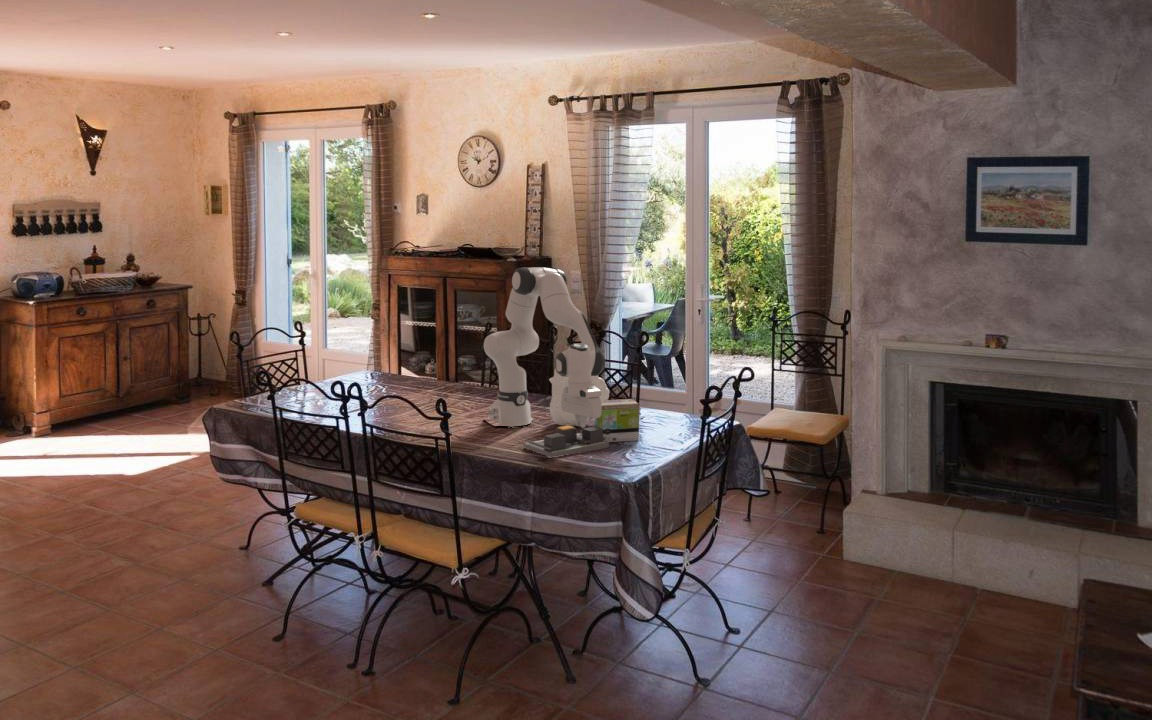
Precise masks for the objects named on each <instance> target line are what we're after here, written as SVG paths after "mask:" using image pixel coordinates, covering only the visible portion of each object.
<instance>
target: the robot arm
mask: <svg viewBox="0 0 1152 720" xmlns="http://www.w3.org/2000/svg"><path fill="white" fill-rule="evenodd" d="M514 270H515V271H514V272H513V274H512V276H511V286H512V288H511V291H510V294H509V299H508V301H507V306H506V309H505V317H506V319H507V321H508V322H509V323H511V327H510V329H509V330H508V329H507V330H502V331H501V330H500V331H496V332H493V333H491V334H488V335H487V336H486V337H485V338H484V342H483V350H484V352H485V354H486V356H488V358H490V359H491V360H492V361H493V363H494V364H495V366H496V367H495V368H496V369H497V373H498V389H499V390H497V391H496V394H497V396H496V397H497V398H496V400H495V401H494V402H493V403H492V404H491V405H489V407H488V410H487V411H488V412H487V413H488V417H489V418H490V419H492V420H493V421H495V422H497V423H499V425H510V426H511V425H512V426H521V425H527V424H530V423H531V424H532V422H531V421H532V420H534V418H533V417H532V409H531V404H530V401H529V400H528V399H529V398H528V396H529V392H528V389H527V372H526V370H525V368H523V367H522V366H520V365H519V364H518V362H517V357H520V356H527V355H529V354H531V353H532V354H533V353H534V352H536V350H538V348H539V345H540V337H539V335H538V333H537V332H536V330H535V329H534V326H533V320H534V315H535V311H536V306H537V303H538V299H539V297H540V302H541V303H540V304H541V307H542V312H543V314H544V316H545V319H547V320H548V321H550V322H551V323H553V324H555V325H559V326H563V327H566V328H569V329H571V330H573V331H575V332H576V333H577V335H578V338H579V340H580V343H572V344H570V345H569V346H568V348H567V349H566V350H564V351H561V352H559V353H558V354H557V355H556V357H555V358H554V359H555V360H554V364H555V367H554V369H555V368H556V372H557V373H558V374H559V375H561V376H562V377H569V378H568V386H566V387H565V388H564V389H563V394H562V401H561V408H562V410H563V411H565V412H569V413H573V414H575V419H576V421H577V426H576V427H578V428H581V429H583V428H586V424H587V423H586V424H585V422H586V420H587V417H588V418H590V419H592V420H593V419H594V420H595V418H600V416H601V413H602V405H601V399H600V397H599V396H601V390H599V389H598V388H597V387H596V386H595V385H594V384H592V377H591V376H598V377H599V375H600V374H602V372H603V371H604V370H605V367H606V359H605V356H604V353H603V351H602V350H601V349H600V347H599V345H598V343H597V341H596V338H595V336H594V334H593V331H592V329H591V327H590V324H589V323H588V320H587V318H586V316H585V314H584V313H583V312H582V310H579V309H578V308H577V307H576V306H575V305H574V304H573V301H572V299H571V296H570V295H571V294H570V292H569V290H568V289H569V287H567V283H568V279H567V276H566V273H565V272H564V271H563V270H561V269H560V268H559V269H558V268H551V267H544V266H543V267H542V266H538V267H536V266H535V267H525V266H524V267H519V268H516V269H514ZM581 418H582V419H581ZM531 424H530V425H531Z"/></svg>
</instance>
